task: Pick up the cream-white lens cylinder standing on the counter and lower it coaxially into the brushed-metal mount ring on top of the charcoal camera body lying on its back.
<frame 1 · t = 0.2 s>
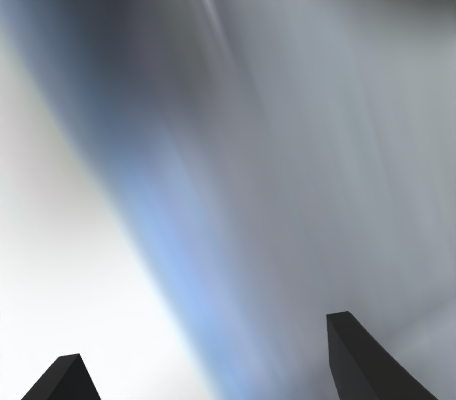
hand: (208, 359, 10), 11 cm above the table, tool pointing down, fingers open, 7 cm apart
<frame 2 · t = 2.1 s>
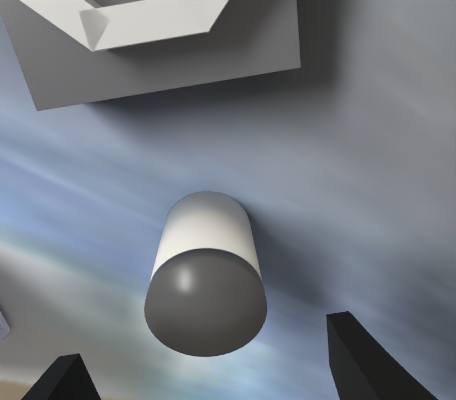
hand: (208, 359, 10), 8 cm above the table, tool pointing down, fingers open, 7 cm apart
white lens: (207, 230, 18), on the table
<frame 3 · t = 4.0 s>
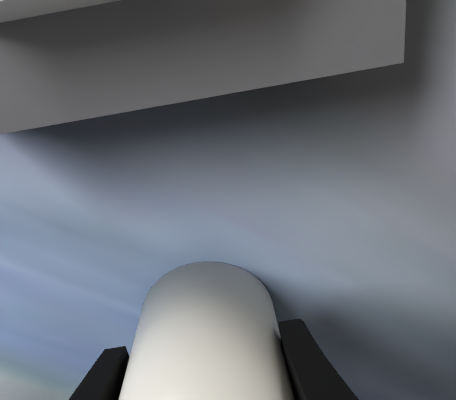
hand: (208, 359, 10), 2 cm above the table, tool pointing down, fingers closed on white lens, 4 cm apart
white lens: (208, 316, 12), on the table, touching gripper
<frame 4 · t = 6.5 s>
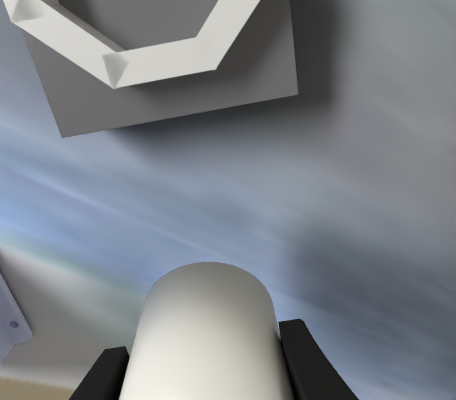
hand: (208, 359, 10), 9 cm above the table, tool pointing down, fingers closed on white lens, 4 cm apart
white lens: (208, 316, 12), point 8 cm above the table, touching gripper
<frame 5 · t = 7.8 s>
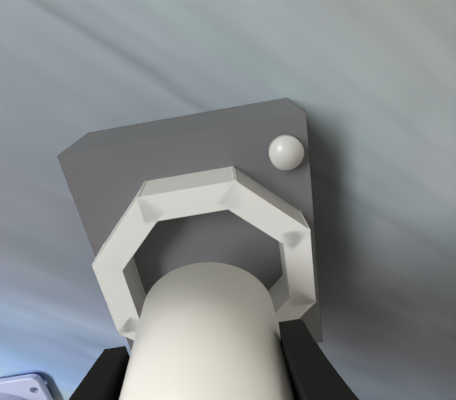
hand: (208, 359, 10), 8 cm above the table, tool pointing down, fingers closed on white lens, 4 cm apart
camera body: (209, 223, 18), on the table
white lens: (208, 317, 12), point 7 cm above the table, touching gripper
when the fingers open (6 cm above the table, at t = 9.1 s): white lens stays where it is, resting on camera body.
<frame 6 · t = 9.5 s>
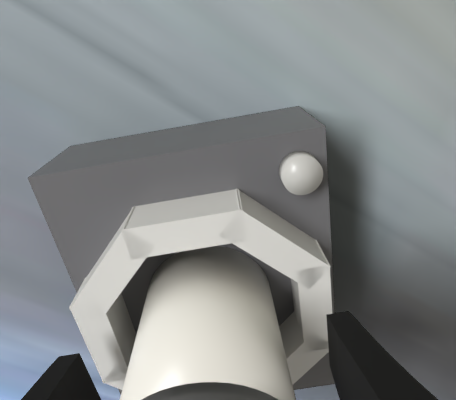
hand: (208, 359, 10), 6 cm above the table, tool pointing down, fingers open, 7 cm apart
camera body: (209, 246, 16), on the table
white lens: (209, 297, 13), point 4 cm above the table, touching camera body
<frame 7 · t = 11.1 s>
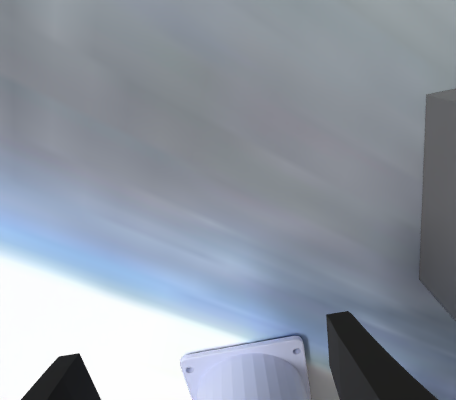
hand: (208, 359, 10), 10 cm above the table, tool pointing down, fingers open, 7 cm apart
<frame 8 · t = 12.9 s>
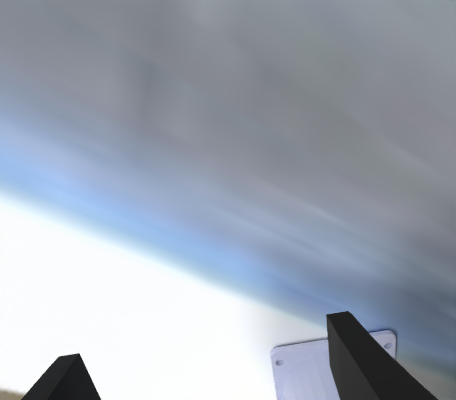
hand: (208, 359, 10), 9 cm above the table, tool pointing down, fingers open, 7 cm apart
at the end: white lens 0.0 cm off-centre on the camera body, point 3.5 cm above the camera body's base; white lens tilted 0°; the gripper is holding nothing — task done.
